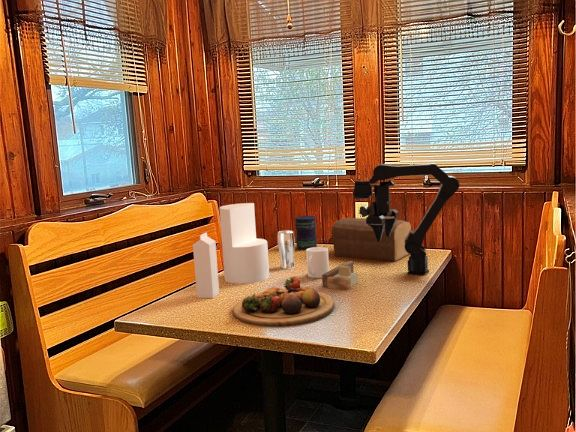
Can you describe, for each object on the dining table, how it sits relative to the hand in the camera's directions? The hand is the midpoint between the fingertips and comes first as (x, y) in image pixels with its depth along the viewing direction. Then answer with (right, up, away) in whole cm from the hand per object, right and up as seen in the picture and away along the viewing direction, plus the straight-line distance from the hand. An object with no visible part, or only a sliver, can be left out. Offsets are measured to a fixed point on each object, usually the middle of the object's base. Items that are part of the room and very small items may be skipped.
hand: (383, 239), depth 213 cm
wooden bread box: (+1, -9, +33) cm, 34 cm away
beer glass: (-36, -13, +18) cm, 42 cm away
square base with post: (-15, -16, -10) cm, 24 cm away
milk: (-64, -19, -16) cm, 68 cm away
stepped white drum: (-52, -15, +6) cm, 54 cm away
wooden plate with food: (-37, -21, -36) cm, 56 cm away
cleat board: (-14, -15, -7) cm, 21 cm away
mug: (-25, -15, +2) cm, 29 cm away
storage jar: (-27, -7, +54) cm, 61 cm away
